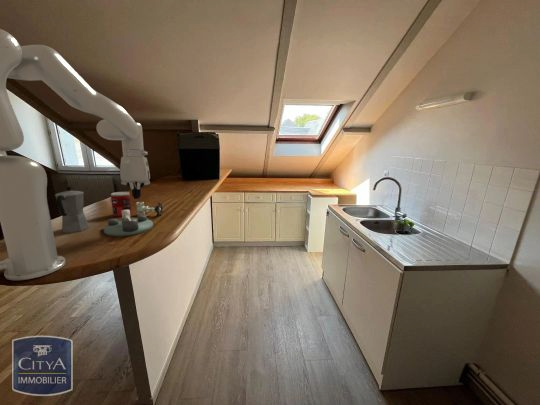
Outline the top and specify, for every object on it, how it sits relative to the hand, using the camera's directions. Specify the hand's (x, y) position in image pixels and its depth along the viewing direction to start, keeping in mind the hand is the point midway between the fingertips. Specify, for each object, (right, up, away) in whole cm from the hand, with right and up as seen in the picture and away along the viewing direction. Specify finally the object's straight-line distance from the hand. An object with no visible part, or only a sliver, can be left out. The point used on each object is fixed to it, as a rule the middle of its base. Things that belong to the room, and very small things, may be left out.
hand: (137, 198), depth 103 cm
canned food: (-18, -8, +19) cm, 27 cm away
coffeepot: (-24, -13, -2) cm, 28 cm away
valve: (-5, -8, +20) cm, 22 cm away
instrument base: (-4, -13, +1) cm, 13 cm away
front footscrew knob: (-2, -12, -2) cm, 12 cm away
